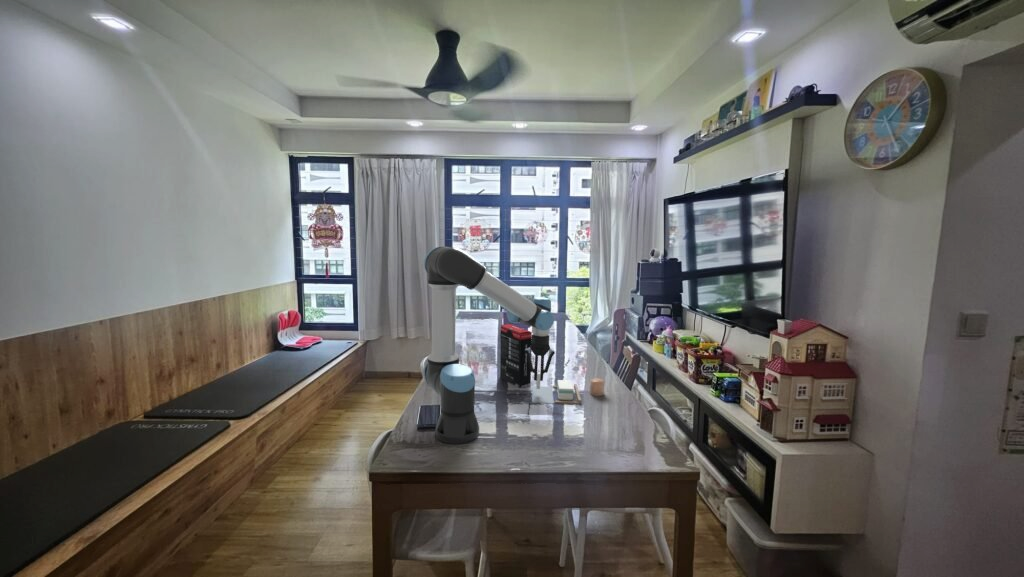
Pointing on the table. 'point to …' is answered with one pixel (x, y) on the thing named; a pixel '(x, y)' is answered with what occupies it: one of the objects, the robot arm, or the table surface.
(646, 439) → the table surface
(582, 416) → the table surface
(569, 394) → the carton
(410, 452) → the table surface
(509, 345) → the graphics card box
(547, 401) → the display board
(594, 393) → the wooden block
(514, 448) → the table surface
